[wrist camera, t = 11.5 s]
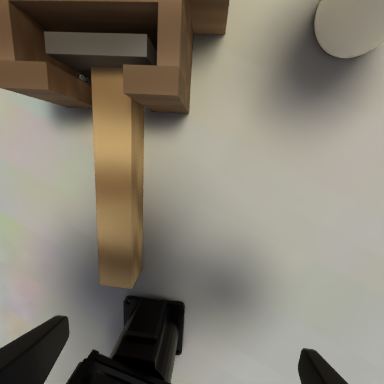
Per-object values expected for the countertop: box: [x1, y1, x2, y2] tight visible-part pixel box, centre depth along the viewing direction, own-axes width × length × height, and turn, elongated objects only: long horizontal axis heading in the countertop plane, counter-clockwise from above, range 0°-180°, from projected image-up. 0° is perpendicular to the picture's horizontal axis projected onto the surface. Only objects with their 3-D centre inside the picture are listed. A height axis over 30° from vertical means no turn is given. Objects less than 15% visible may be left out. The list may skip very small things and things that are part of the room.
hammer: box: [44, 32, 157, 289], centre depth 17 cm, size 19×6×5 cm, turn 176°
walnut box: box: [0, 0, 229, 113], centre depth 12 cm, size 8×16×9 cm, turn 86°
